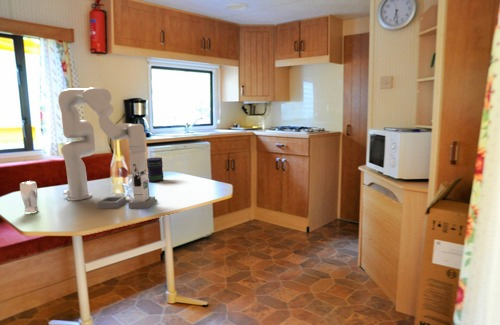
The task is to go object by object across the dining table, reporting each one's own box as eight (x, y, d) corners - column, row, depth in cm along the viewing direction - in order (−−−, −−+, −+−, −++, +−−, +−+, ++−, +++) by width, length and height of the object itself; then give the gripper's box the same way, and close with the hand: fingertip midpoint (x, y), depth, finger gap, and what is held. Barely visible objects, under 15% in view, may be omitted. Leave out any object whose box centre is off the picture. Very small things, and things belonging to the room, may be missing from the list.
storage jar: (167, 180, 235) (165, 158, 232) (155, 183, 226) (154, 160, 224) (156, 178, 240) (154, 157, 237) (145, 181, 232) (143, 159, 229)
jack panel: (98, 208, 177) (97, 202, 177) (109, 201, 189) (109, 195, 189) (148, 208, 175) (147, 202, 174) (156, 201, 187) (156, 195, 186)
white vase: (37, 209, 178) (32, 180, 175) (42, 211, 174) (38, 182, 171) (21, 213, 173) (17, 183, 170) (26, 215, 168) (22, 185, 166)
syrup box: (144, 204, 177) (142, 176, 174) (133, 204, 178) (131, 175, 175) (150, 201, 182) (147, 173, 180) (139, 200, 183) (137, 173, 181)
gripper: (137, 146, 184) (139, 180, 187) (122, 152, 167) (125, 189, 170) (151, 146, 183) (153, 180, 186) (137, 151, 166) (140, 189, 170)
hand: (140, 184), depth 178 cm, fingers closed on syrup box, 6 cm apart
